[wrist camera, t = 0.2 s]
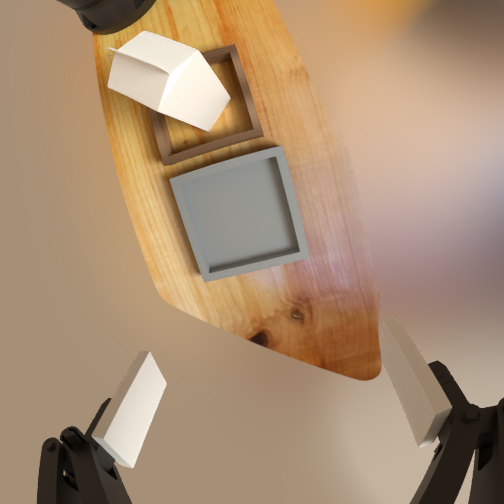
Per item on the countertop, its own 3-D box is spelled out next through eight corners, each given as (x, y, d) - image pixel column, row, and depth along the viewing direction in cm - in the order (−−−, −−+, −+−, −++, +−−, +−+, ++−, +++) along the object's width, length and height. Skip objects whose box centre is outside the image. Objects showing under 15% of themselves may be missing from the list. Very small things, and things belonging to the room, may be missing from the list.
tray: (175, 177, 38) (169, 179, 36) (281, 146, 36) (282, 145, 34) (207, 275, 43) (204, 282, 41) (307, 252, 41) (310, 257, 38)
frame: (149, 83, 33) (141, 79, 31) (237, 51, 31) (234, 44, 29) (171, 165, 38) (163, 165, 35) (263, 136, 36) (263, 134, 33)
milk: (209, 132, 36) (139, 108, 15) (175, 114, 35) (84, 82, 14) (232, 97, 34) (188, 35, 13) (197, 79, 33) (127, 15, 12)
